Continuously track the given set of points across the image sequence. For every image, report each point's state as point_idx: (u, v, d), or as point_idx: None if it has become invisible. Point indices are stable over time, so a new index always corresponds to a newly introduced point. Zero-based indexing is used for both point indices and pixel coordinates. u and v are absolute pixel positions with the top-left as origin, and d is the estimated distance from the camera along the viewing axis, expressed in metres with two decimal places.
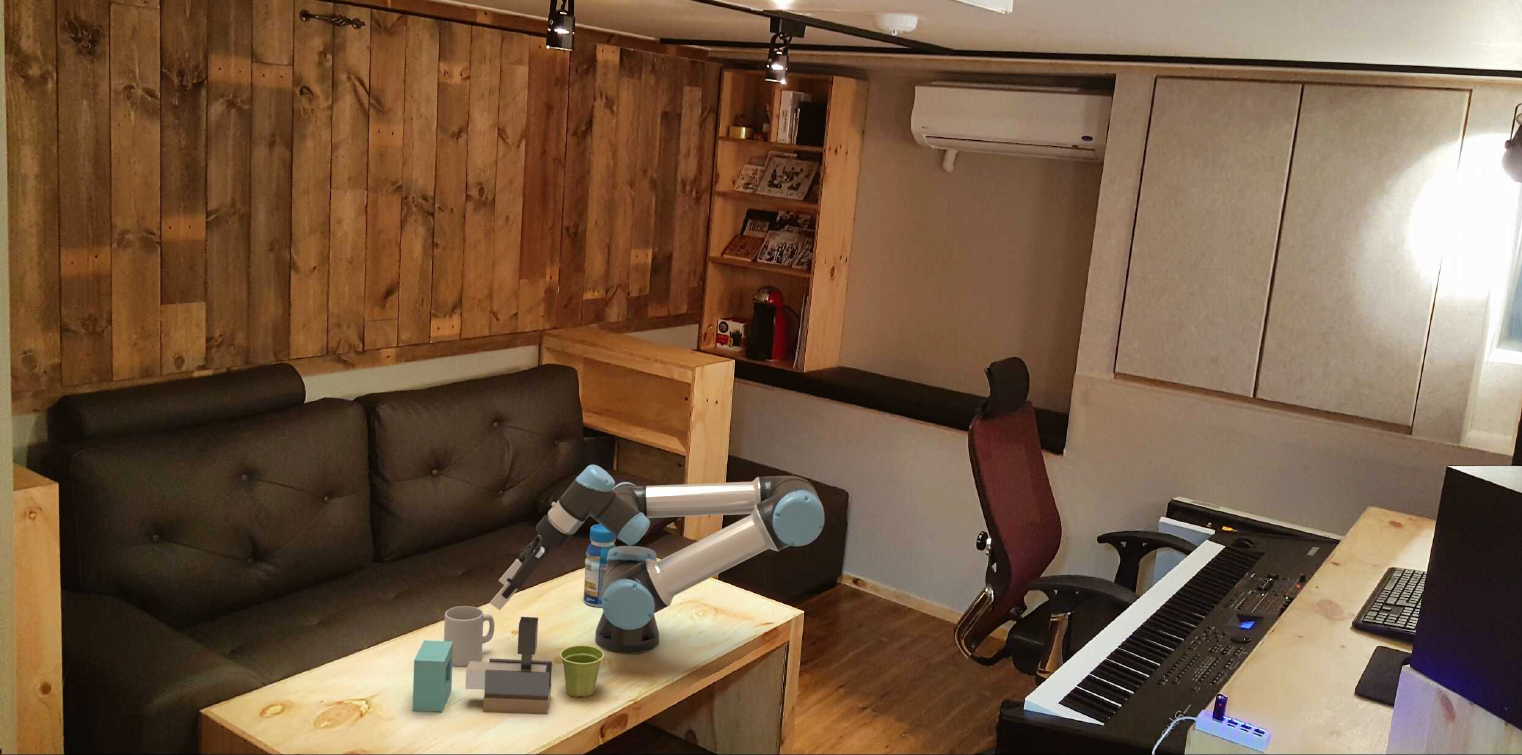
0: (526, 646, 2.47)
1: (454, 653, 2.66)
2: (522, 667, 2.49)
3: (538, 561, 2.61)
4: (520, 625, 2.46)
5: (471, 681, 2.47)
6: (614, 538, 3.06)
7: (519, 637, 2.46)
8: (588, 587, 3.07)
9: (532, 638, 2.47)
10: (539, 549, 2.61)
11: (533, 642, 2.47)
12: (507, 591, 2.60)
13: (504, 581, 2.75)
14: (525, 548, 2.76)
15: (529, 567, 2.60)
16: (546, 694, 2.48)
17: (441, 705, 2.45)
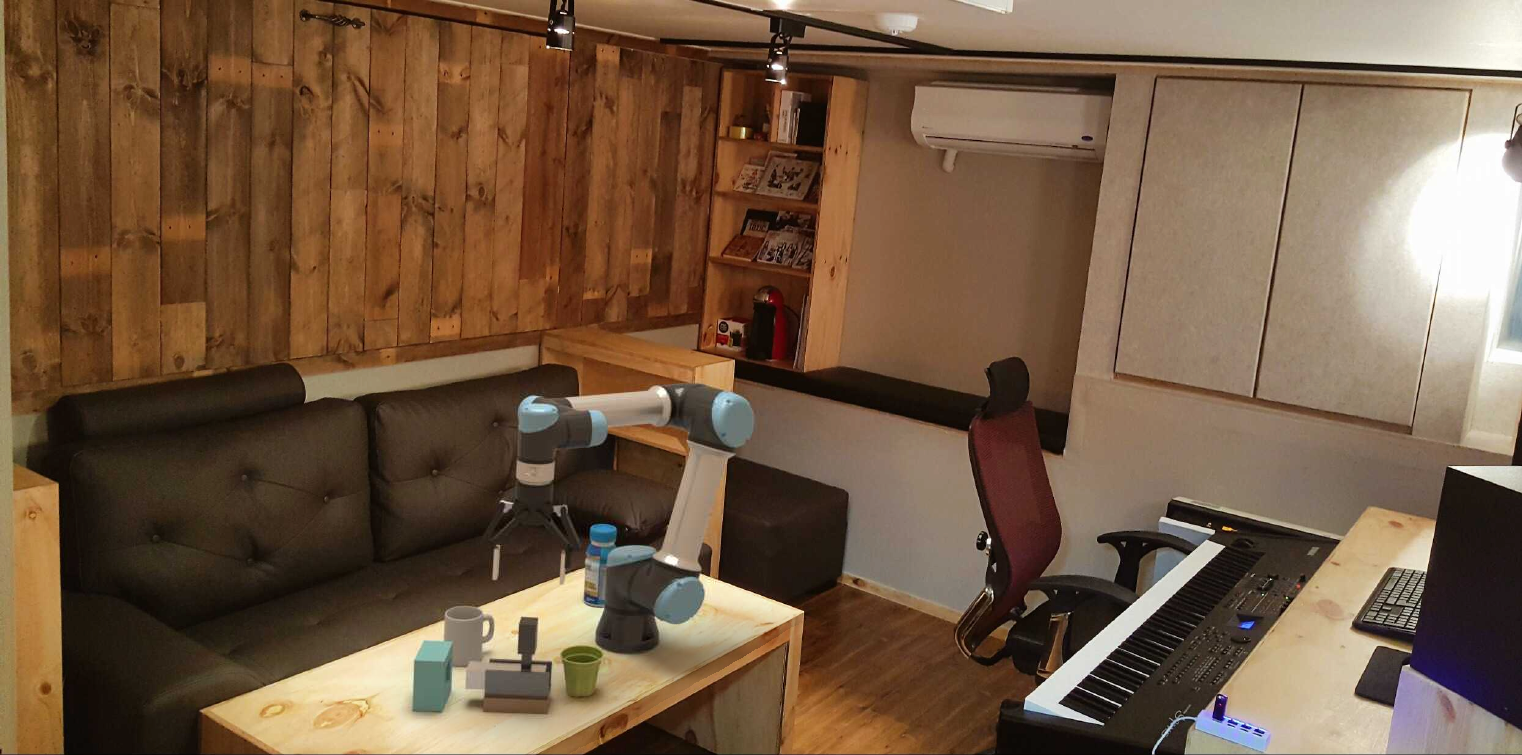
0: (526, 646, 2.47)
1: (454, 653, 2.66)
2: (522, 667, 2.49)
3: None
4: (520, 625, 2.46)
5: (471, 681, 2.47)
6: (614, 538, 3.06)
7: (519, 637, 2.46)
8: (588, 587, 3.07)
9: (532, 638, 2.47)
10: (565, 507, 2.44)
11: (533, 642, 2.47)
12: None
13: (497, 574, 2.46)
14: (487, 536, 2.44)
15: (571, 525, 2.46)
16: (546, 694, 2.48)
17: (441, 705, 2.45)
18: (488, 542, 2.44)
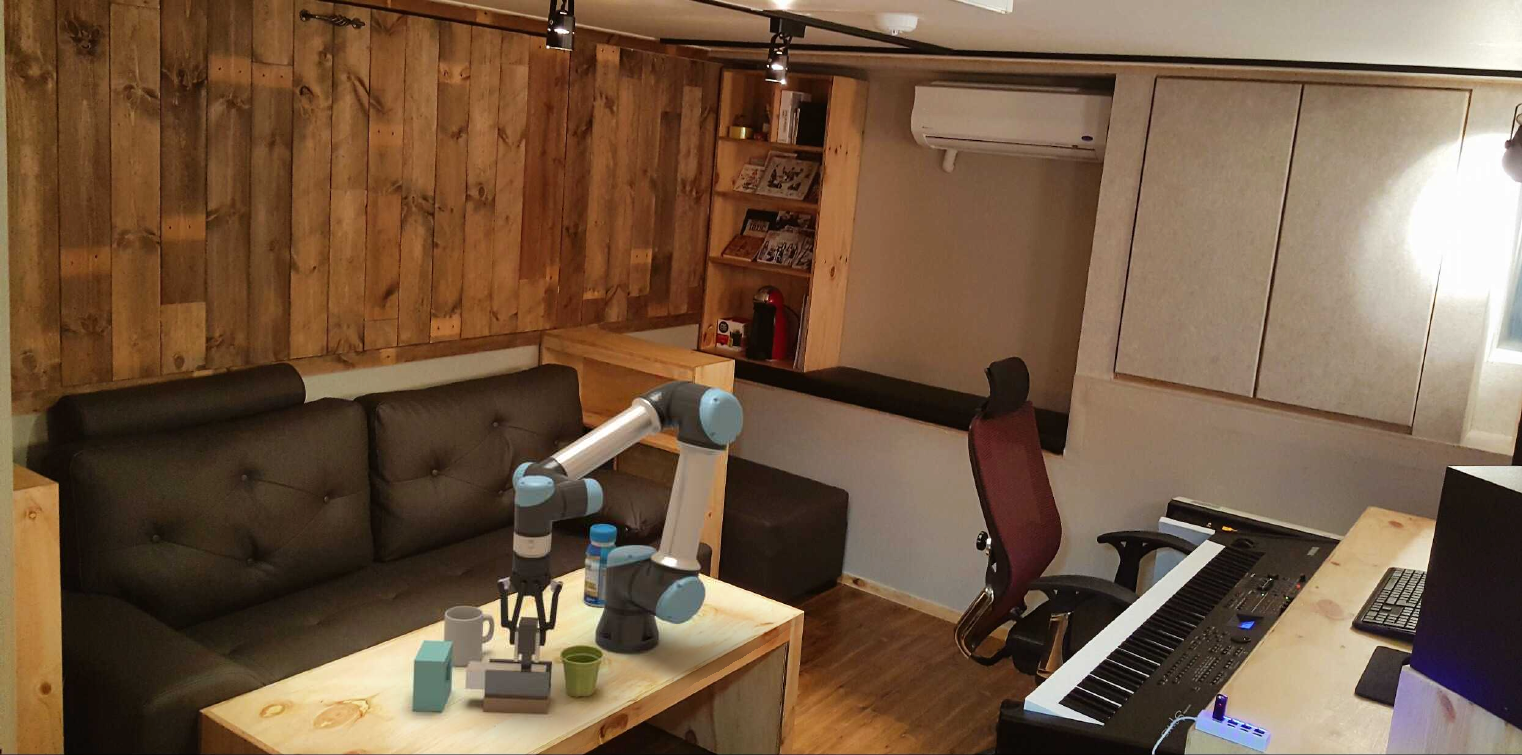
0: (526, 646, 2.47)
1: (454, 653, 2.66)
2: (522, 667, 2.49)
3: None
4: (520, 625, 2.46)
5: (471, 681, 2.47)
6: (614, 538, 3.06)
7: (519, 637, 2.46)
8: (588, 587, 3.07)
9: (532, 638, 2.47)
10: (562, 586, 2.46)
11: (533, 642, 2.47)
12: None
13: (518, 655, 2.49)
14: (504, 617, 2.46)
15: (557, 604, 2.48)
16: (546, 694, 2.48)
17: (441, 705, 2.45)
18: (509, 625, 2.47)
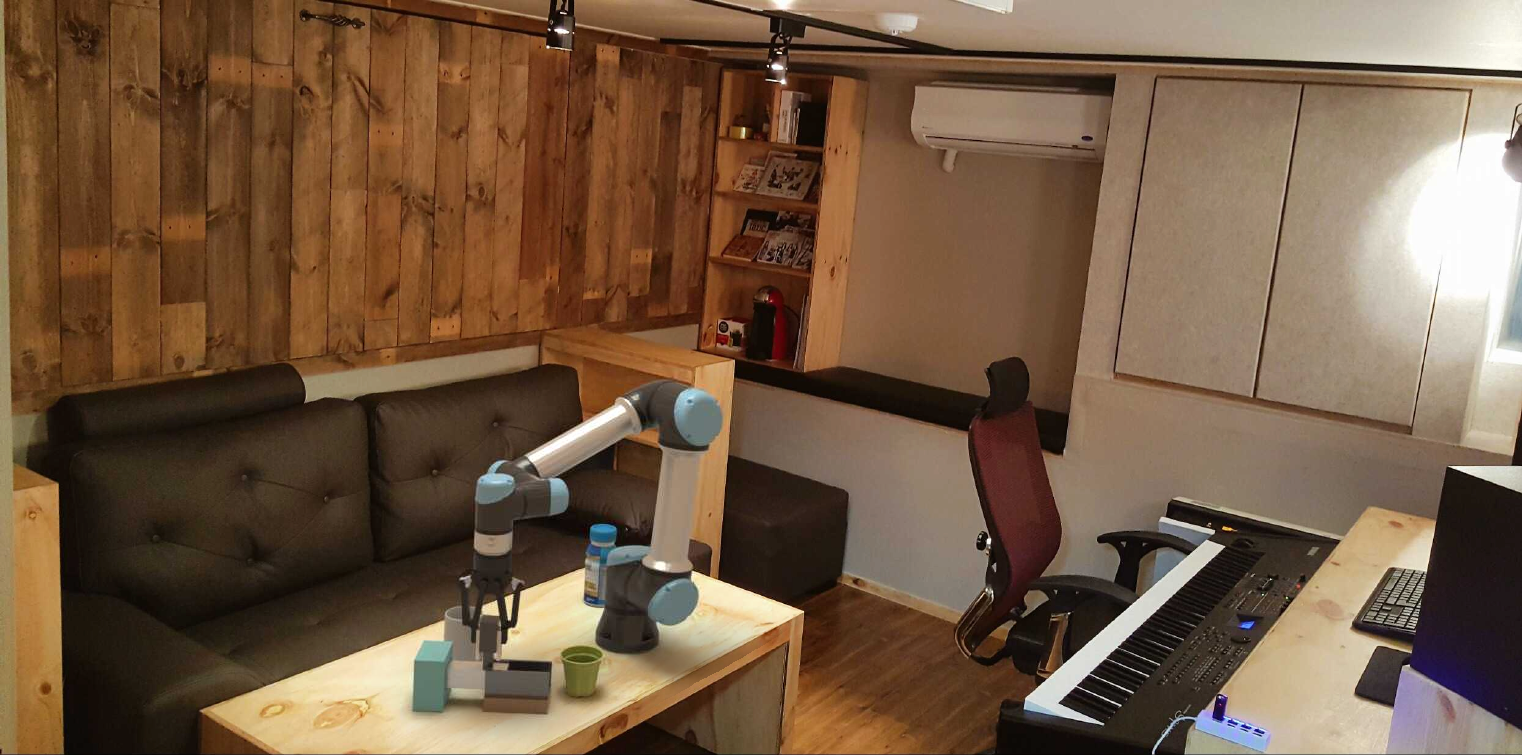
0: (487, 644, 2.46)
1: (454, 653, 2.66)
2: (484, 665, 2.48)
3: (520, 591, 2.48)
4: (481, 623, 2.45)
5: None
6: (614, 538, 3.06)
7: (480, 635, 2.46)
8: (588, 587, 3.07)
9: (493, 636, 2.46)
10: (523, 584, 2.46)
11: (494, 640, 2.46)
12: (507, 636, 2.48)
13: (480, 654, 2.48)
14: (465, 615, 2.46)
15: None
16: (546, 694, 2.48)
17: (441, 705, 2.45)
18: (470, 623, 2.46)
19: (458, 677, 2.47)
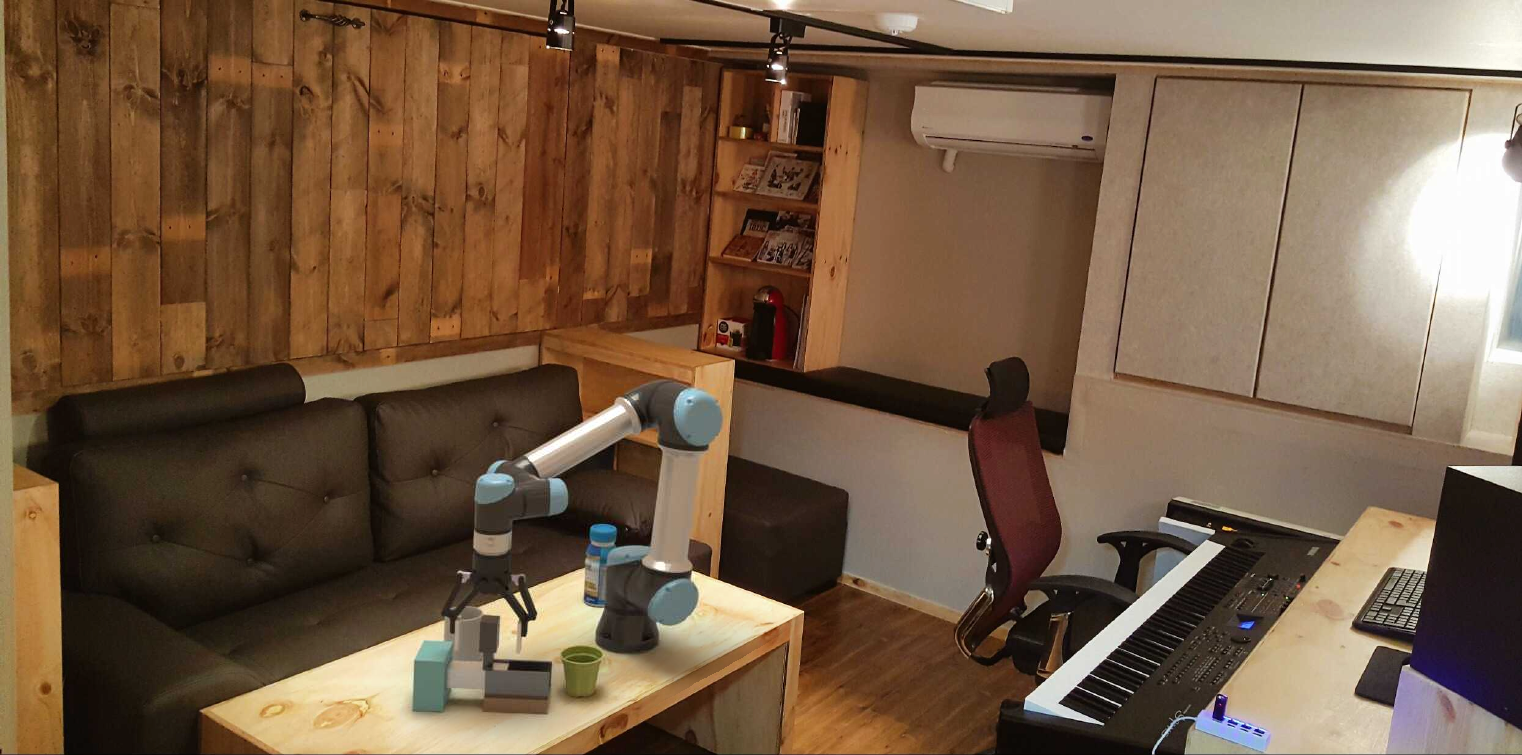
0: (487, 644, 2.46)
1: (454, 653, 2.66)
2: (484, 665, 2.48)
3: (525, 584, 2.47)
4: (481, 623, 2.45)
5: None
6: (614, 538, 3.06)
7: (480, 635, 2.46)
8: (588, 587, 3.07)
9: (493, 636, 2.46)
10: (523, 577, 2.46)
11: (494, 640, 2.46)
12: None
13: (459, 644, 2.48)
14: (448, 607, 2.45)
15: (528, 594, 2.47)
16: (546, 694, 2.48)
17: (441, 705, 2.45)
18: (449, 613, 2.46)
19: (458, 677, 2.47)
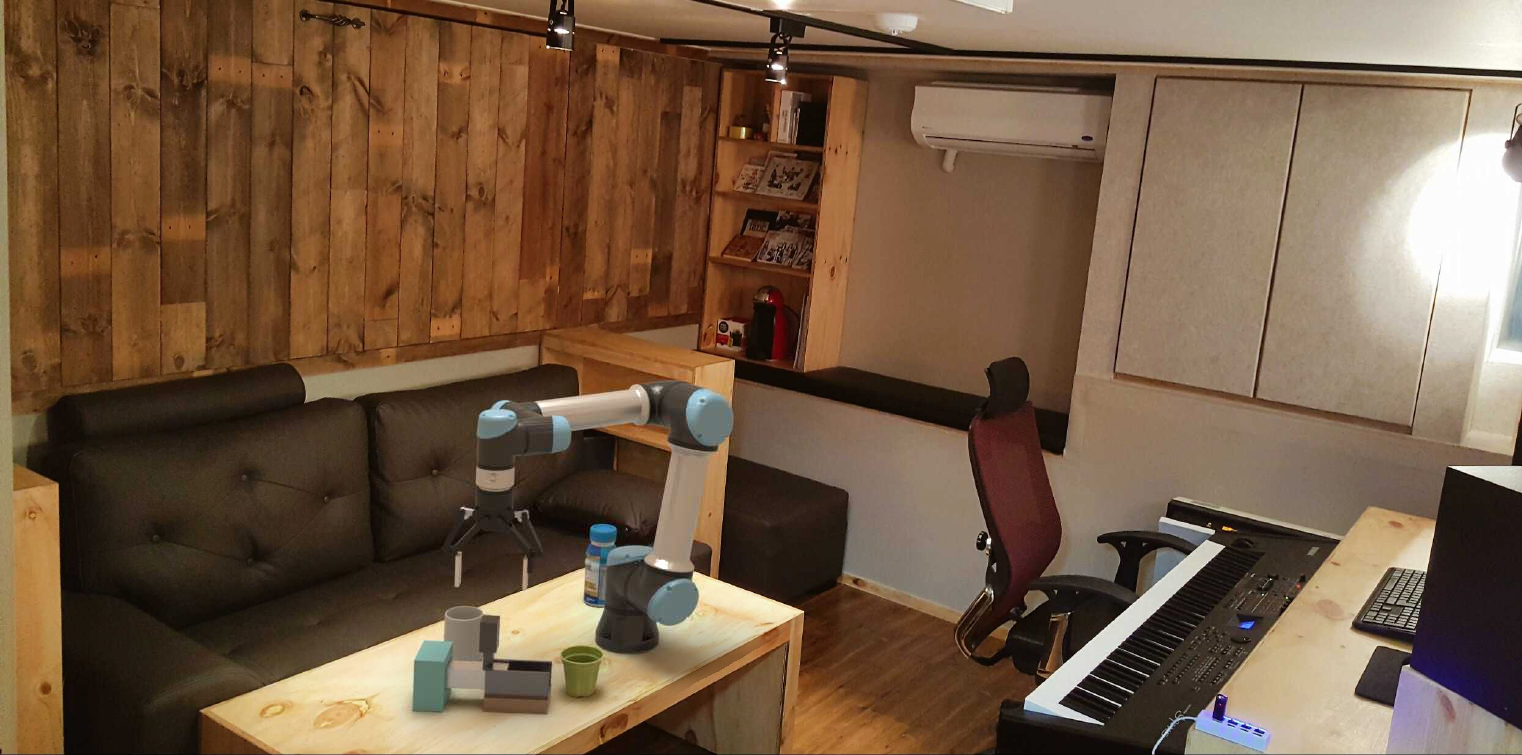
0: (487, 644, 2.46)
1: (454, 653, 2.66)
2: (484, 665, 2.48)
3: (529, 520, 2.45)
4: (481, 623, 2.45)
5: None
6: (614, 538, 3.06)
7: (480, 635, 2.46)
8: (588, 587, 3.07)
9: (493, 636, 2.46)
10: (526, 513, 2.43)
11: (494, 640, 2.46)
12: None
13: (459, 581, 2.45)
14: (448, 543, 2.42)
15: (533, 530, 2.45)
16: (546, 694, 2.48)
17: (441, 705, 2.45)
18: (449, 549, 2.43)
19: (458, 677, 2.47)
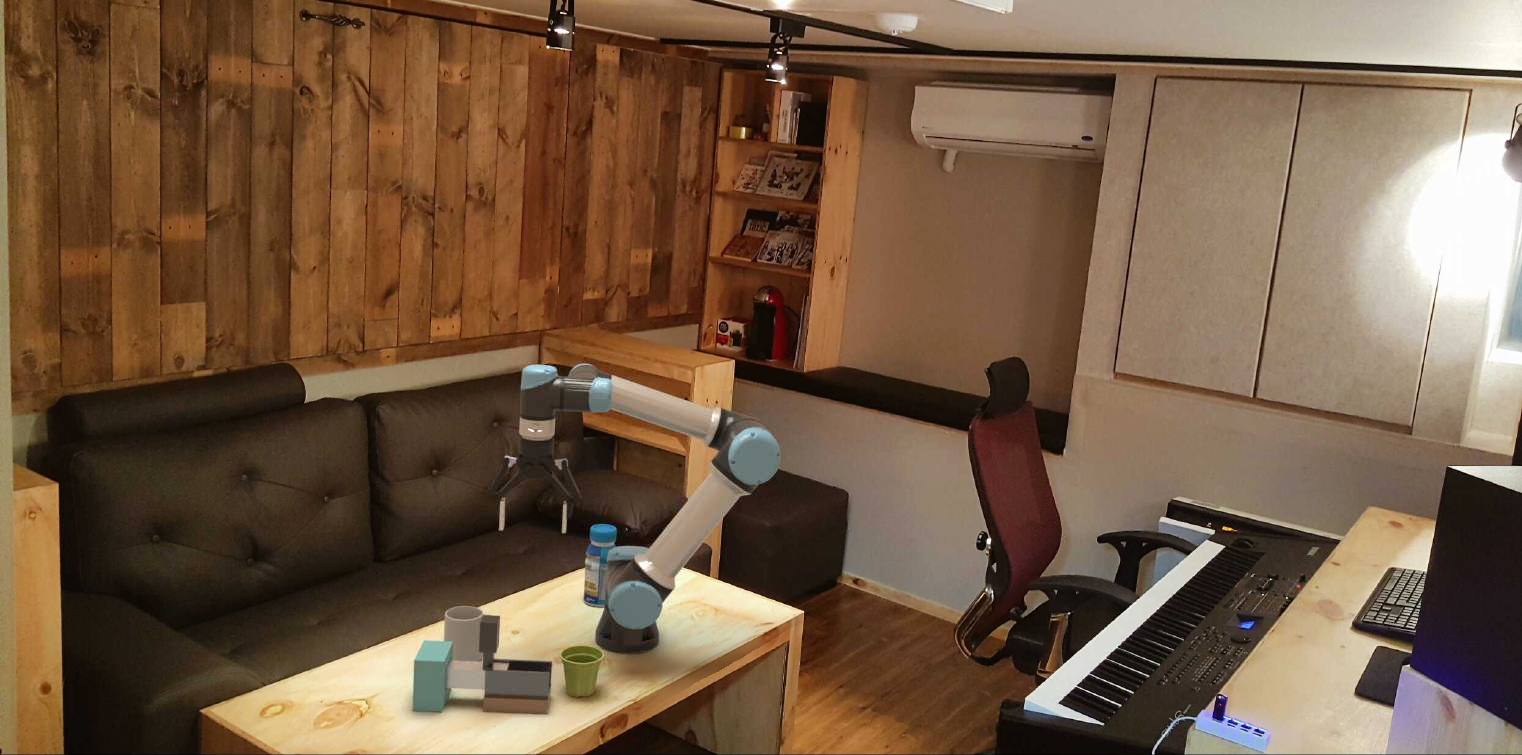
0: (487, 644, 2.46)
1: (454, 653, 2.66)
2: (484, 665, 2.48)
3: (568, 468, 2.64)
4: (481, 623, 2.45)
5: None
6: (614, 538, 3.06)
7: (480, 635, 2.46)
8: (588, 587, 3.07)
9: (493, 636, 2.46)
10: (566, 461, 2.62)
11: (494, 640, 2.46)
12: None
13: (503, 525, 2.64)
14: (493, 489, 2.61)
15: (572, 478, 2.63)
16: (546, 694, 2.48)
17: (441, 705, 2.45)
18: (494, 495, 2.62)
19: (458, 677, 2.47)
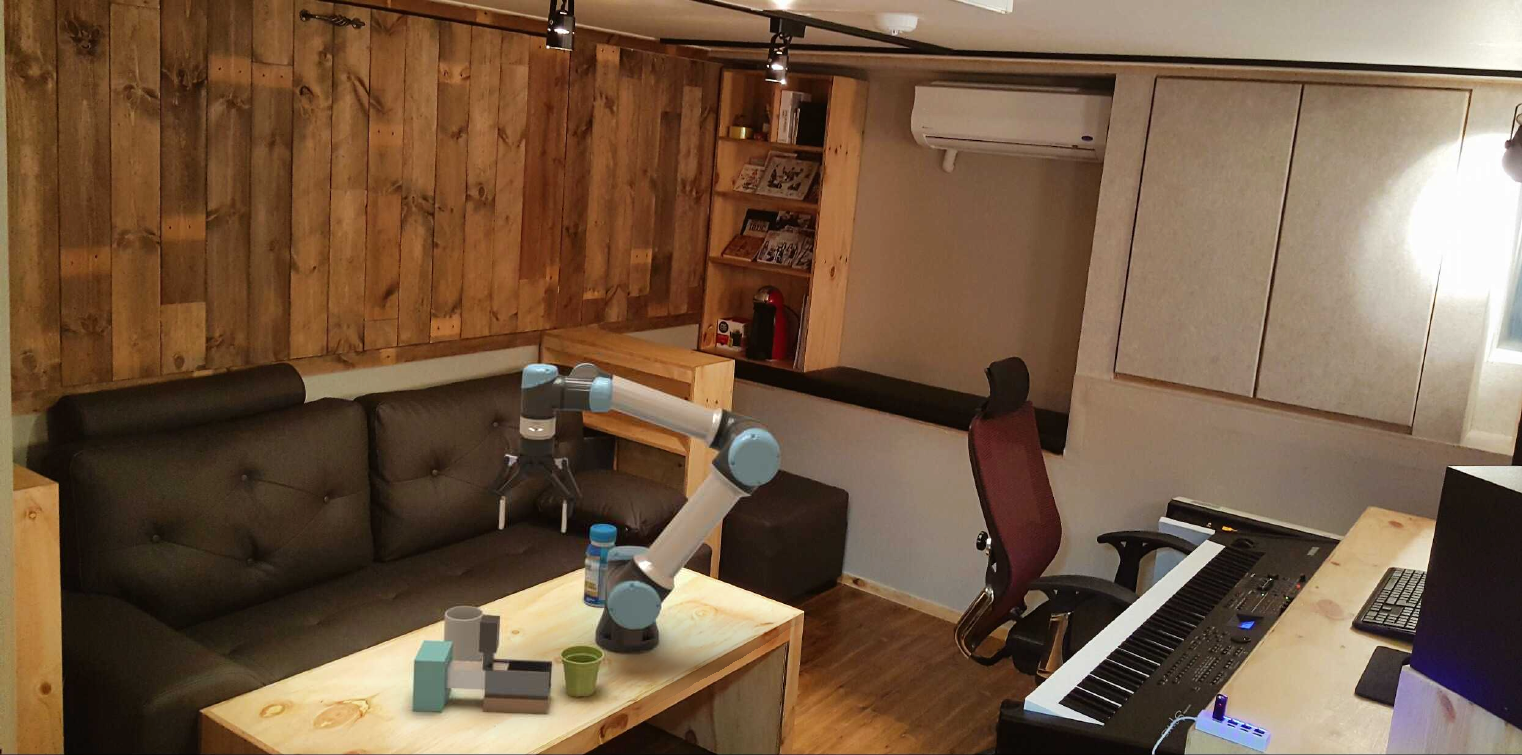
0: (487, 644, 2.46)
1: (454, 653, 2.66)
2: (484, 665, 2.48)
3: (568, 468, 2.64)
4: (481, 623, 2.45)
5: None
6: (614, 538, 3.06)
7: (480, 635, 2.46)
8: (588, 587, 3.07)
9: (493, 636, 2.46)
10: (566, 460, 2.62)
11: (494, 640, 2.46)
12: None
13: (503, 523, 2.64)
14: (493, 488, 2.61)
15: (572, 477, 2.64)
16: (546, 694, 2.48)
17: (441, 705, 2.45)
18: (494, 494, 2.62)
19: (458, 677, 2.47)
